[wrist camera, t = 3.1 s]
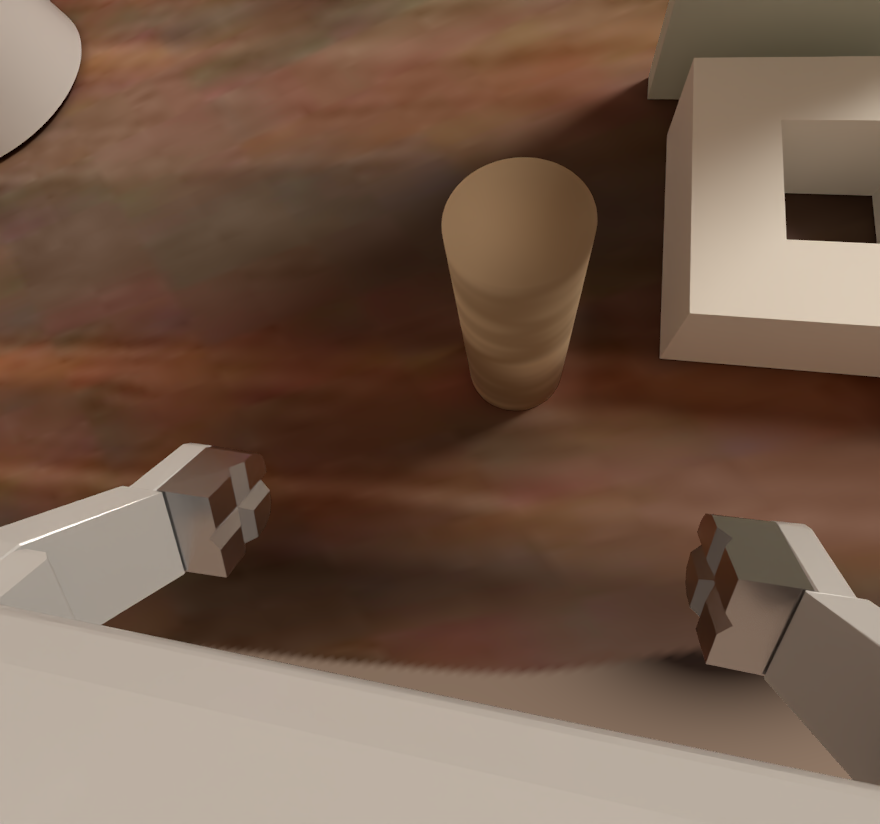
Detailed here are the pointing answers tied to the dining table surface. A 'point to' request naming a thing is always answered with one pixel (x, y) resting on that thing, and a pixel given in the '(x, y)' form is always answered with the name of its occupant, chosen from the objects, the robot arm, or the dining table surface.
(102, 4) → the dining table surface
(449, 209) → the peg
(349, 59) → the dining table surface
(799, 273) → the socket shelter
